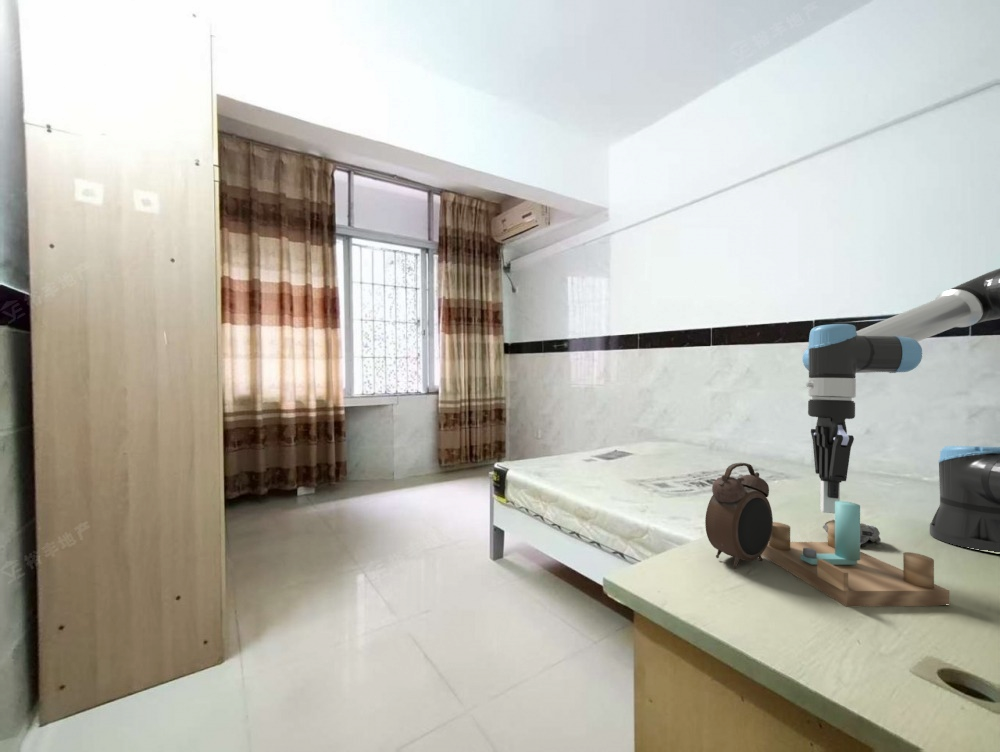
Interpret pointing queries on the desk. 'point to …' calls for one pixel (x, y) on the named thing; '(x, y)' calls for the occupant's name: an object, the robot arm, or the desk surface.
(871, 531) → the fossilized seashell
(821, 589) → the stool seat
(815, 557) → the hinged leg
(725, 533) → the alarm clock
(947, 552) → the desk surface
